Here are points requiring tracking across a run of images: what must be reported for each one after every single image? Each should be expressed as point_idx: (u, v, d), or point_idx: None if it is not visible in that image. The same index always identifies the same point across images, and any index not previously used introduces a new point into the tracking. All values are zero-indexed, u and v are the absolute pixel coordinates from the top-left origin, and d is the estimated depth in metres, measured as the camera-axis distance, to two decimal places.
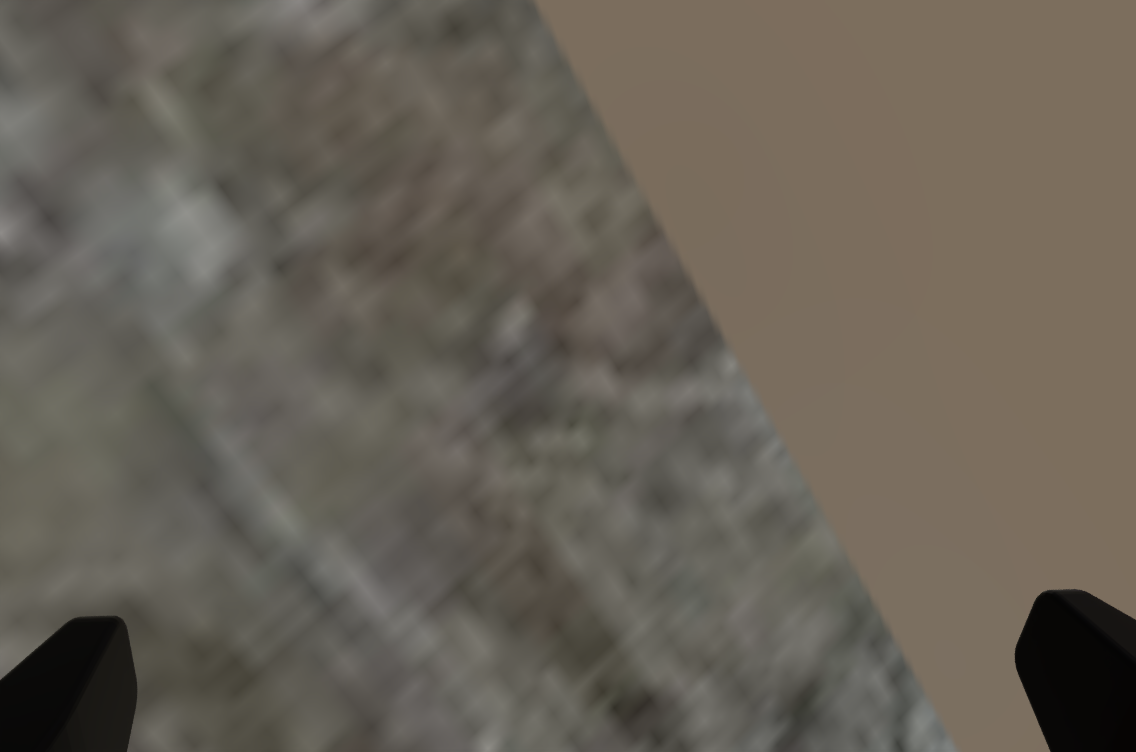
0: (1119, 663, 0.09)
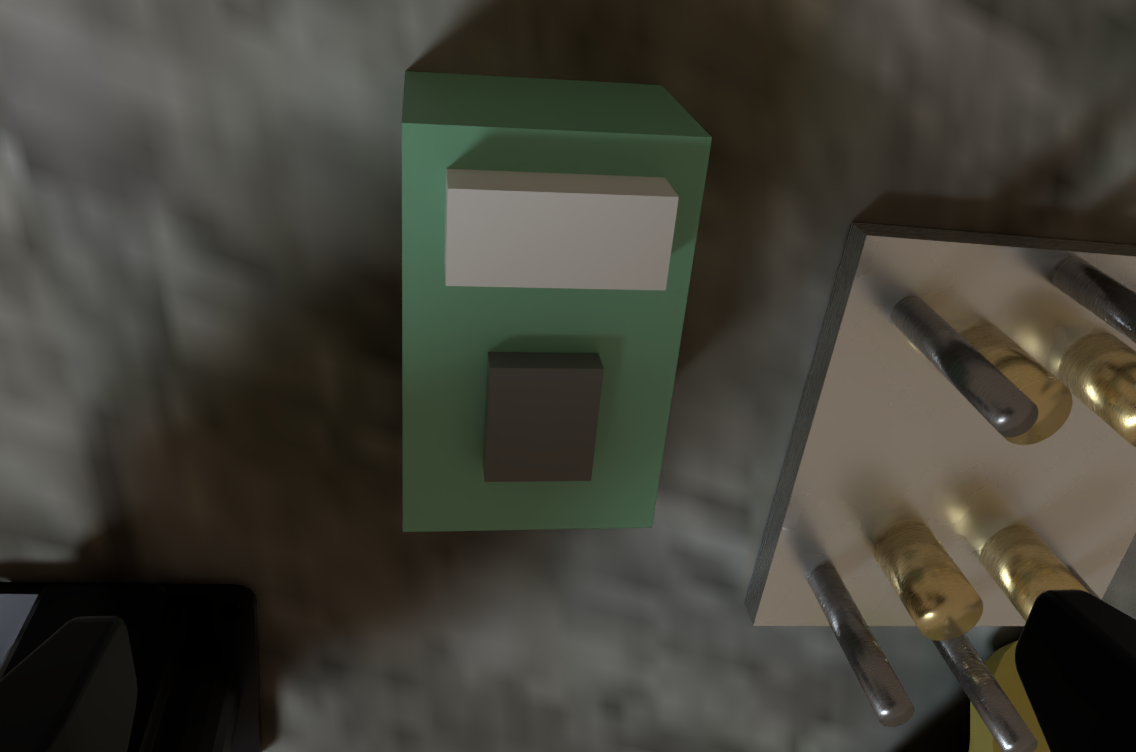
0: (1118, 663, 0.09)
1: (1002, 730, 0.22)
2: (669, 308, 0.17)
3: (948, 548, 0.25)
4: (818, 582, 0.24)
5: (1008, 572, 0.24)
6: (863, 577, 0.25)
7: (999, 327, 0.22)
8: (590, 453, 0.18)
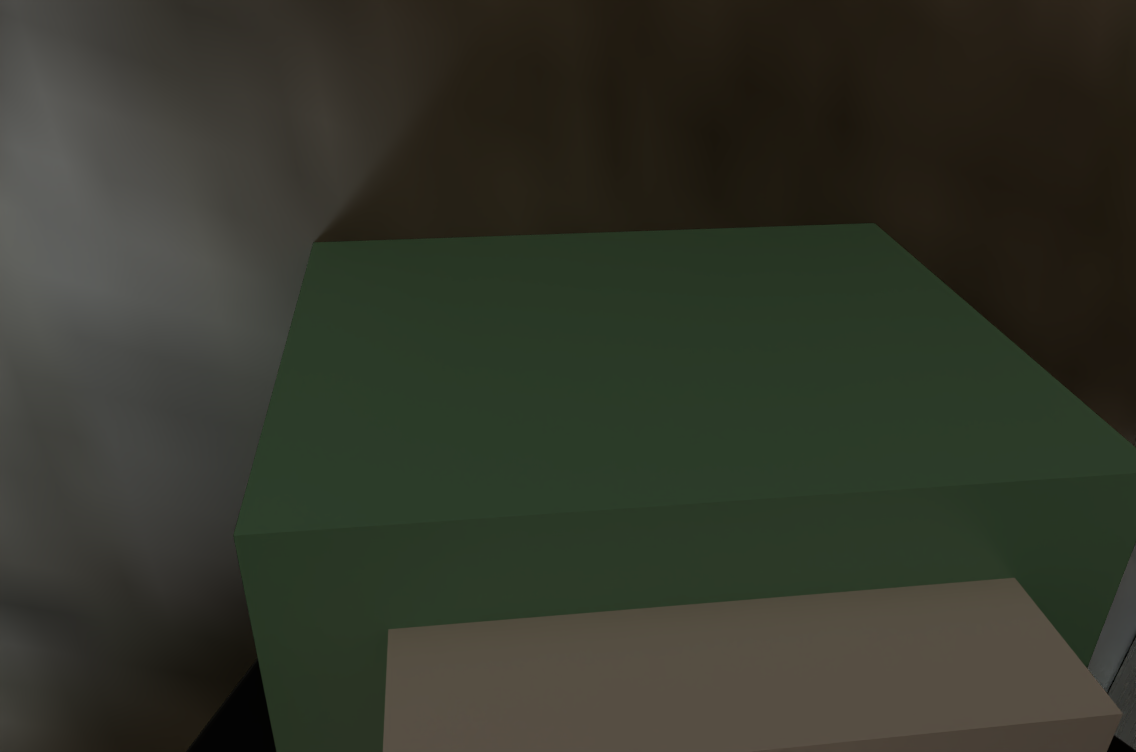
0: None
1: None
2: None
3: None
4: None
5: None
6: None
7: None
8: None
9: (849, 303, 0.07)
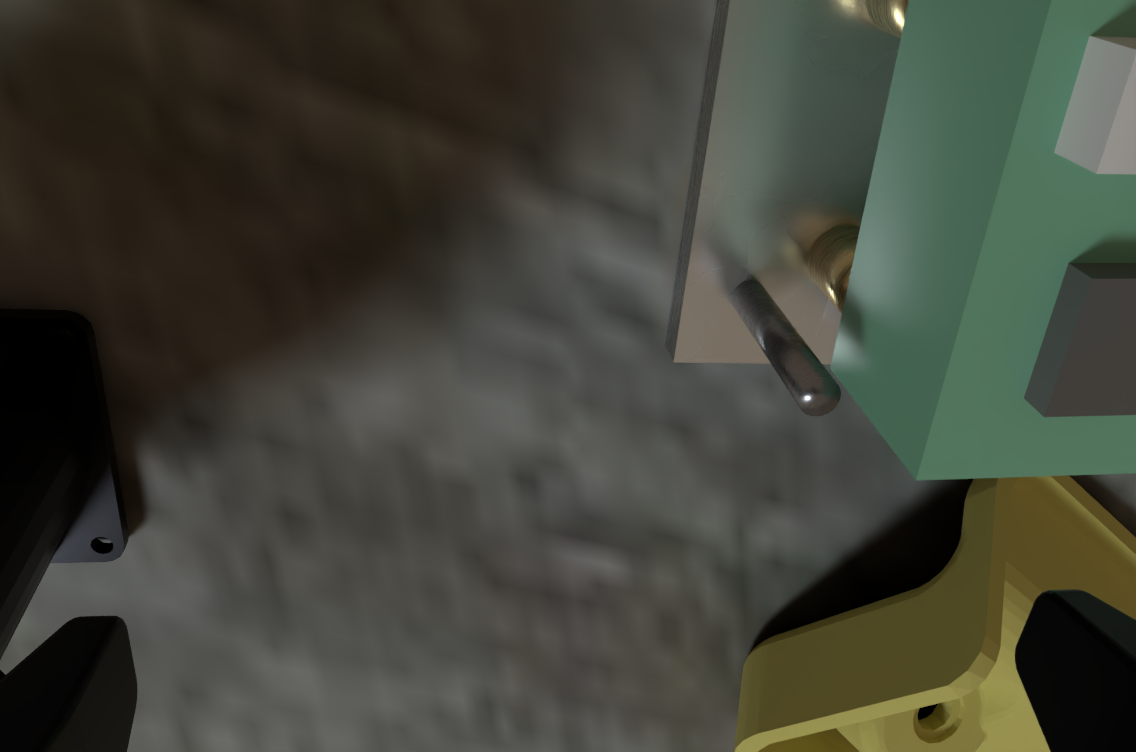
0: (1119, 663, 0.09)
1: None
2: None
3: None
4: (741, 296, 0.21)
5: None
6: (796, 298, 0.22)
7: None
8: None
9: None
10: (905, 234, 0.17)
